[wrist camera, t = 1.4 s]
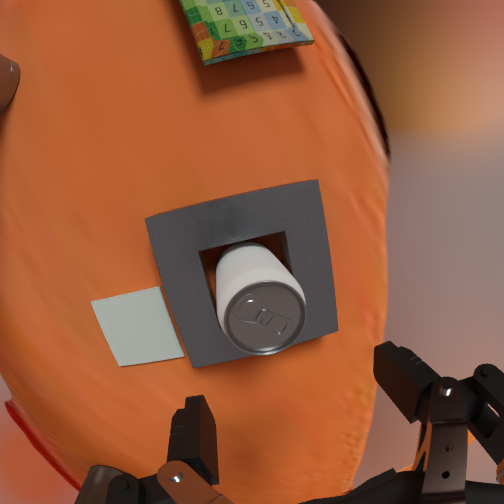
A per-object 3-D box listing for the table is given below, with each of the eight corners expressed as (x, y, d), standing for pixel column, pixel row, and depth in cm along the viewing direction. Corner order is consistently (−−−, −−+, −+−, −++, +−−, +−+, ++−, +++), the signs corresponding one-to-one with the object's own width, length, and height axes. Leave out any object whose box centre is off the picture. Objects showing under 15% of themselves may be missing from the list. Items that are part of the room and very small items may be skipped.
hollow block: (195, 348, 31) (193, 368, 27) (154, 214, 27) (144, 218, 23) (325, 315, 32) (338, 330, 28) (304, 180, 28) (317, 179, 24)
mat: (120, 364, 30) (119, 366, 29) (92, 301, 28) (90, 302, 27) (184, 354, 31) (184, 356, 30) (160, 285, 28) (159, 287, 28)
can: (237, 228, 28) (253, 254, 17) (287, 260, 30) (331, 303, 18) (204, 279, 29) (198, 335, 17) (254, 308, 30) (276, 372, 19)
